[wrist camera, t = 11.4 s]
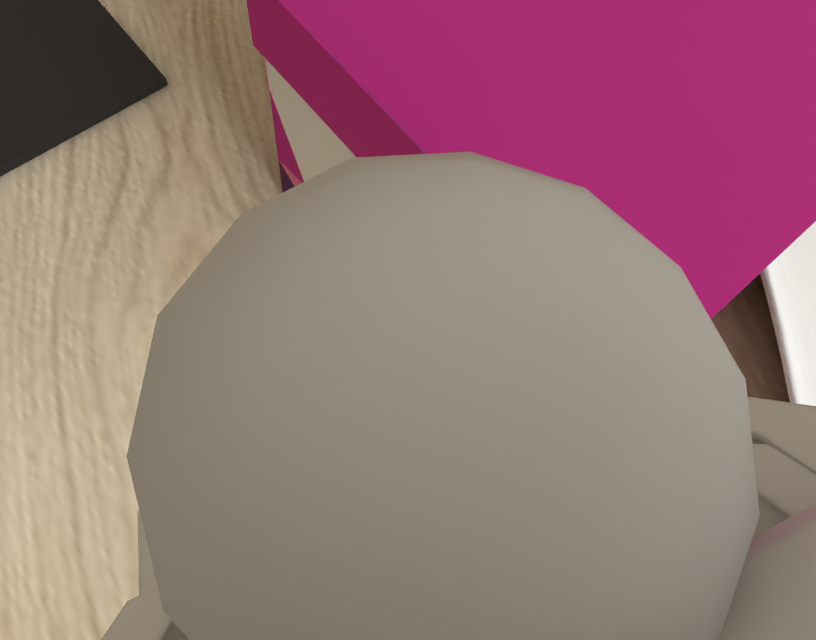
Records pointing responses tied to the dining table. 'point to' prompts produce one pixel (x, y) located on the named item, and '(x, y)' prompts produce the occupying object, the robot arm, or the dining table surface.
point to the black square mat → (63, 74)
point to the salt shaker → (442, 420)
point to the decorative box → (572, 107)
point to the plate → (795, 314)
